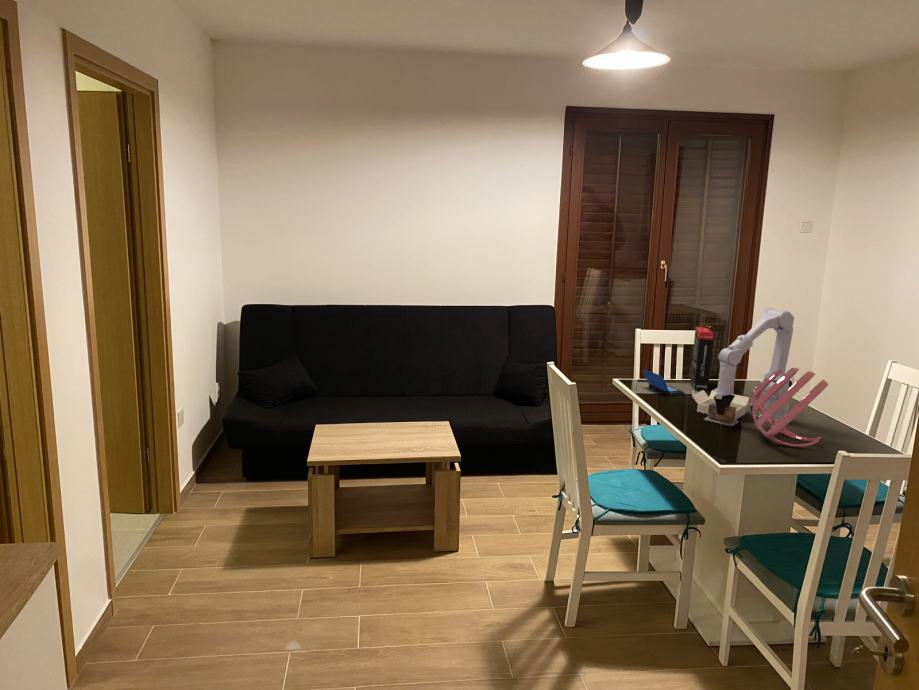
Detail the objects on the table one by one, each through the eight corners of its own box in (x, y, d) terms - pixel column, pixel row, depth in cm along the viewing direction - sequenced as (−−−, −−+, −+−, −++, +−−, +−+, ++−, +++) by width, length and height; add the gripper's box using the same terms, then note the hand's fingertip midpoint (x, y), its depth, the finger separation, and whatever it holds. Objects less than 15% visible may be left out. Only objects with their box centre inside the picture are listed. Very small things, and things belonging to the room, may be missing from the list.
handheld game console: (685, 396, 304) (688, 375, 302) (659, 396, 300) (661, 376, 298) (665, 387, 318) (667, 367, 316) (640, 387, 314) (642, 368, 312)
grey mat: (738, 422, 266) (739, 421, 266) (732, 426, 260) (732, 425, 260) (710, 415, 273) (710, 414, 273) (703, 419, 267) (703, 418, 266)
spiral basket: (867, 395, 237) (802, 342, 247) (838, 428, 219) (769, 369, 229) (813, 441, 256) (755, 390, 266) (783, 474, 238) (722, 418, 248)
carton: (754, 414, 279) (756, 398, 278) (742, 422, 267) (744, 406, 265) (703, 403, 292) (705, 388, 291) (689, 410, 279) (691, 395, 278)
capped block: (734, 420, 265) (736, 407, 264) (731, 422, 262) (732, 409, 261) (711, 414, 271) (712, 402, 270) (707, 416, 267) (709, 404, 267)
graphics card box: (708, 391, 312) (716, 333, 307) (692, 390, 314) (699, 331, 309) (703, 383, 329) (710, 327, 324) (688, 381, 330) (694, 326, 325)
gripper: (722, 374, 271) (718, 407, 274) (709, 380, 260) (705, 414, 263) (740, 378, 267) (736, 411, 269) (728, 384, 256) (724, 419, 258)
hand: (722, 413), depth 266 cm, fingers closed on capped block, 4 cm apart
